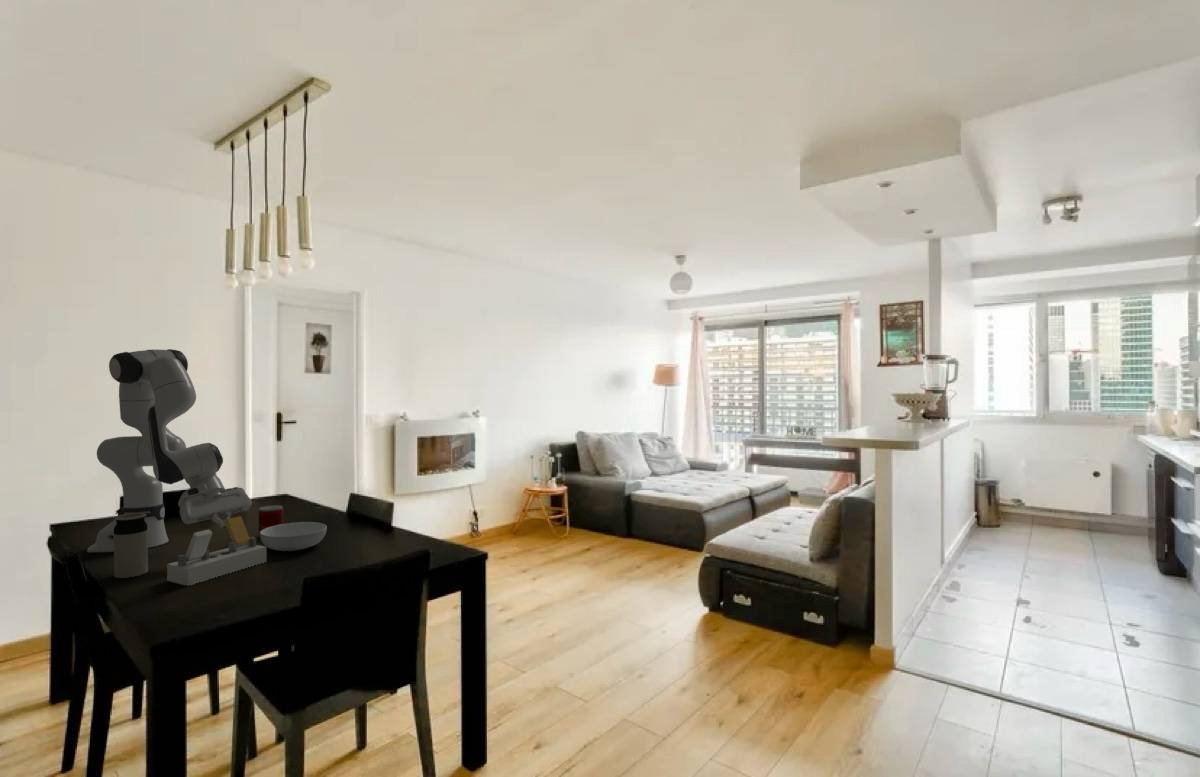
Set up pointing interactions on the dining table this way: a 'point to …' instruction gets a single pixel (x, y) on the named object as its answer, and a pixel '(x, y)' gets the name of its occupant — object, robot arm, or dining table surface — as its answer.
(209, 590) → the dining table surface
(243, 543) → the amber paddle
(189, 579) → the long paddle holder base
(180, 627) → the dining table surface
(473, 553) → the dining table surface
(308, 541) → the serving bowl
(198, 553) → the white paddle
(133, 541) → the travel mug
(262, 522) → the canned food
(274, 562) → the dining table surface
